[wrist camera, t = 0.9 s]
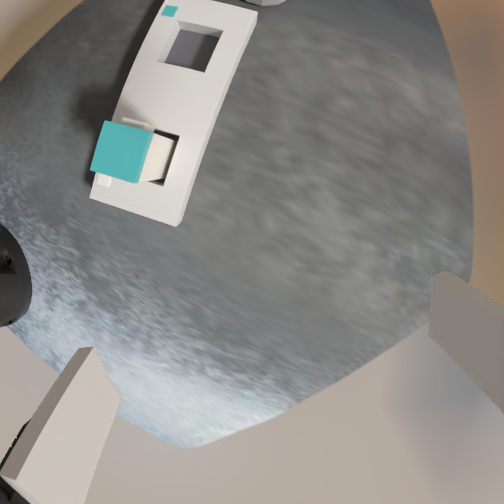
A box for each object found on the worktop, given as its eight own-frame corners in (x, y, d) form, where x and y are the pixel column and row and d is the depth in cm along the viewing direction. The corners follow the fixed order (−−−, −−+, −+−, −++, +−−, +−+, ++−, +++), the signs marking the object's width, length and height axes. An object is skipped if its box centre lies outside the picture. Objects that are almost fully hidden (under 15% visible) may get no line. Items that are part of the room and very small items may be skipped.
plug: (131, 167, 30) (89, 170, 21) (144, 126, 29) (107, 112, 20) (165, 177, 31) (134, 183, 21) (179, 136, 30) (153, 124, 20)
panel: (101, 194, 31) (89, 198, 28) (173, 5, 26) (168, -7, 23) (181, 221, 33) (175, 226, 30) (256, 23, 27) (257, 11, 24)
